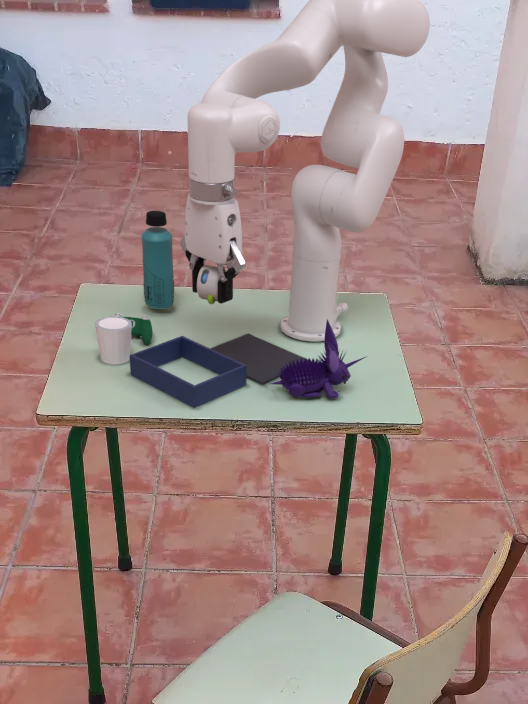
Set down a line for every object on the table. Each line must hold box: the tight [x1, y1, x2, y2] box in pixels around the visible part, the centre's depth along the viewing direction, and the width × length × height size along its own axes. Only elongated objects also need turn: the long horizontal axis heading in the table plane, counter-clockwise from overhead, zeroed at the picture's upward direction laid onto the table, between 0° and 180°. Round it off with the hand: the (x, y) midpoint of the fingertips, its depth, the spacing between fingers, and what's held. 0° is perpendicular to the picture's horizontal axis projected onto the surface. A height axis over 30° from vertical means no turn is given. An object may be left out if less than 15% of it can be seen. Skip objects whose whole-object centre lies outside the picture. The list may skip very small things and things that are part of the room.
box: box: [129, 335, 247, 409], centre depth 165 cm, size 13×17×4 cm
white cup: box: [94, 315, 132, 365], centre depth 169 cm, size 7×7×7 cm
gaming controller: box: [114, 312, 153, 346], centre depth 178 cm, size 9×4×6 cm
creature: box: [270, 319, 368, 400], centre depth 161 cm, size 9×18×12 cm, turn 96°
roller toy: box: [196, 264, 221, 305], centre depth 158 cm, size 4×6×6 cm
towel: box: [209, 333, 309, 386], centre depth 174 cm, size 14×17×1 cm
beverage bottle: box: [140, 210, 176, 310], centre depth 184 cm, size 6×7×20 cm
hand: (212, 294), depth 159 cm, fingers closed on roller toy, 5 cm apart
